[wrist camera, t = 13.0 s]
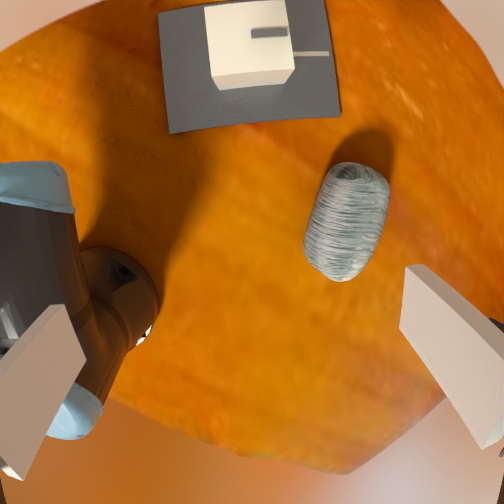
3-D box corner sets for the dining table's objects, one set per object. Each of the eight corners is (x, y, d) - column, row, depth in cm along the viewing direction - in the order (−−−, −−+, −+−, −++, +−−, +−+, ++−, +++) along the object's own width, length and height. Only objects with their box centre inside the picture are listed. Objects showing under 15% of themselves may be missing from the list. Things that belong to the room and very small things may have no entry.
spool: (319, 138, 33) (378, 185, 27) (372, 160, 38) (426, 203, 32) (269, 237, 40) (308, 295, 34) (324, 243, 46) (364, 293, 39)
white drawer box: (219, 90, 33) (211, 76, 25) (212, 33, 31) (203, 5, 23) (284, 83, 33) (295, 68, 25) (276, 27, 31) (285, -2, 22)
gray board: (171, 134, 36) (160, 133, 31) (159, 15, 30) (148, 0, 25) (338, 117, 36) (353, 114, 31) (321, 0, 30) (332, -16, 25)
